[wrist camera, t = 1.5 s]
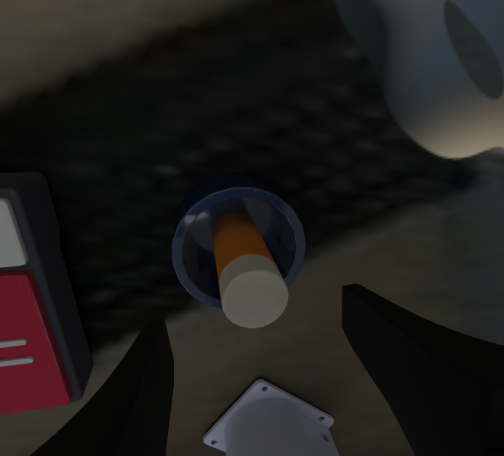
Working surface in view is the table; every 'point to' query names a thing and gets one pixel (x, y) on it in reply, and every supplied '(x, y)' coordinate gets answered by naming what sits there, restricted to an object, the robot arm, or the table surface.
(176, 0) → the table surface
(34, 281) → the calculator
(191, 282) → the dark blue round bowl
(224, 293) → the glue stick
